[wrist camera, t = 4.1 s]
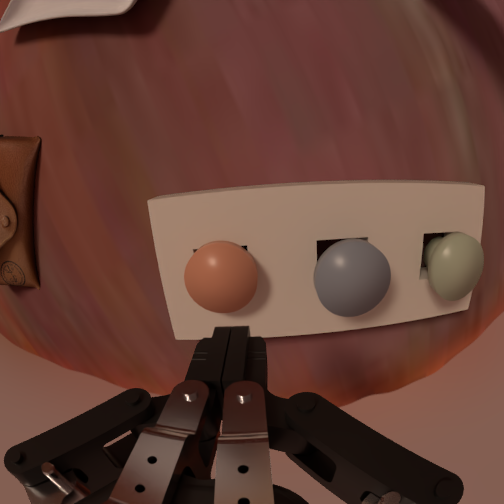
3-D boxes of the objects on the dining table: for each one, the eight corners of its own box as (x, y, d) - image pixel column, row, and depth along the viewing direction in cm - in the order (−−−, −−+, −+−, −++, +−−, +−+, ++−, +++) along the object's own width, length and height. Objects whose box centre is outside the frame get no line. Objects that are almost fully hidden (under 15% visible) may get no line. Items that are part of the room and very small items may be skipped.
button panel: (468, 182, 20) (484, 185, 18) (455, 298, 24) (467, 309, 22) (158, 196, 22) (147, 200, 20) (182, 324, 26) (175, 339, 24)
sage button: (440, 211, 20) (467, 221, 16) (466, 250, 20) (491, 265, 17) (402, 256, 21) (423, 274, 17) (431, 292, 22) (452, 312, 18)
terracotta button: (221, 218, 22) (213, 229, 19) (271, 259, 23) (272, 277, 20) (183, 265, 24) (170, 283, 20) (231, 302, 25) (226, 325, 21)
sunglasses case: (43, 294, 26) (-5, 308, 21) (29, 271, 29) (-12, 281, 24) (43, 131, 21) (-15, 133, 15) (30, 133, 24) (-17, 135, 18)
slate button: (341, 214, 20) (356, 226, 17) (384, 258, 21) (404, 277, 17) (293, 265, 22) (299, 287, 18) (339, 304, 22) (351, 329, 19)
